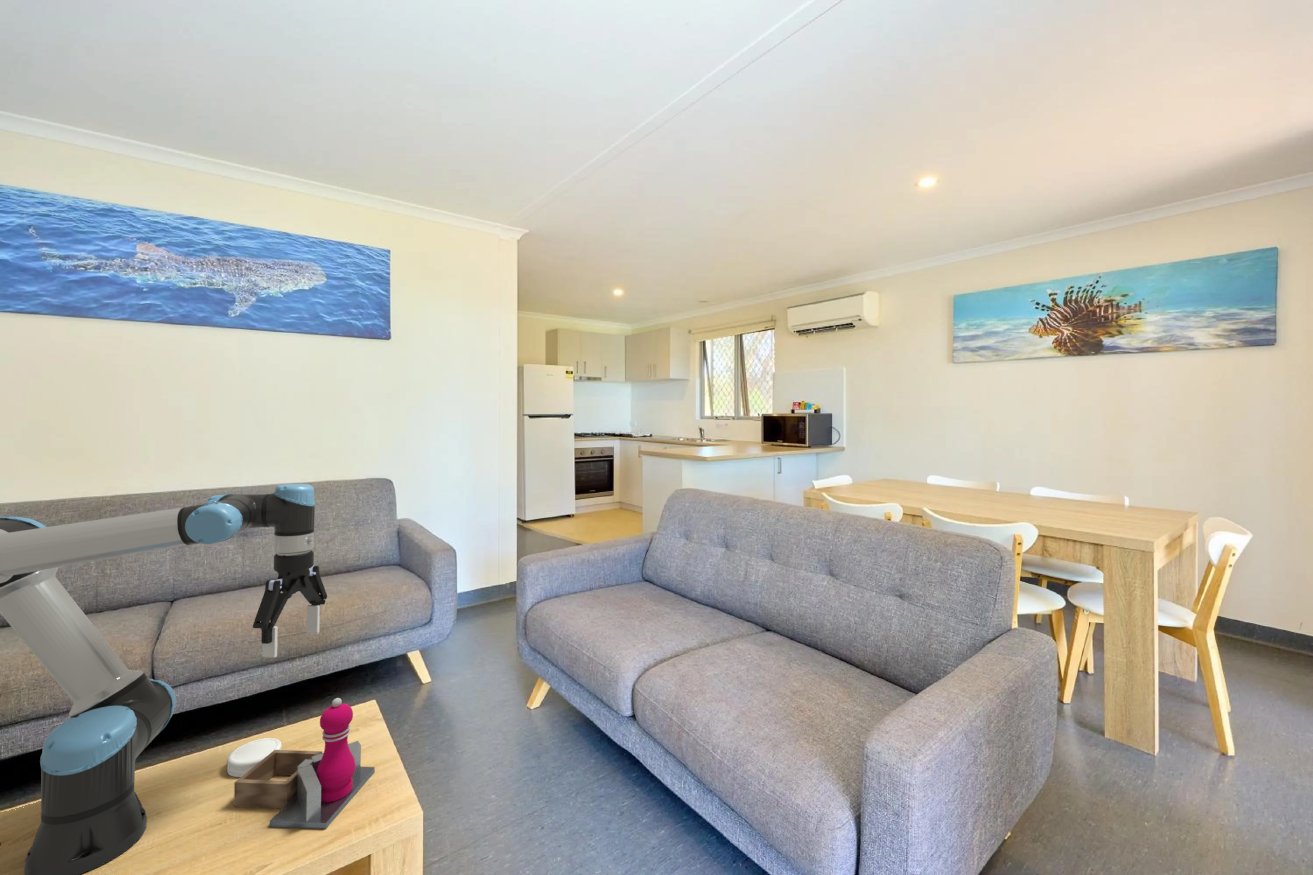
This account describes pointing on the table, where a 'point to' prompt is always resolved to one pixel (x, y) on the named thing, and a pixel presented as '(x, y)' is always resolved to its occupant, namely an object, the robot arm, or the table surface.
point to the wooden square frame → (266, 792)
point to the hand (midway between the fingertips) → (292, 643)
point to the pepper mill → (336, 753)
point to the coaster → (250, 755)
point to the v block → (318, 795)
